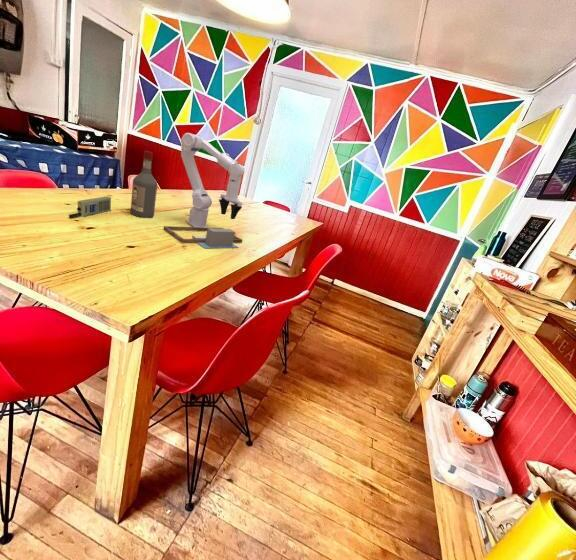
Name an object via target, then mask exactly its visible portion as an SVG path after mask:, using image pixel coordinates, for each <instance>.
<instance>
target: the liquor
mask: <svg viewBox="0 0 576 560" xmlns="http://www.w3.org/2000/svg"><path fill="white" fill-rule="evenodd" d="M153 156H154V152H152V151H149V150H144V151H143V161H142V169H141V172H140V173H138V174H137V175H136V176H134V178H133V180H132V189H131V199H130V200H131V202H130V214H131V215H133V216H135V217H137V218H141V217H142V219H150V218H151V219H152V218H153V217H154V216H155V211H156V210H155V209H156V202H157V201H156V200H157V192H158V183H157V180H156V179H155V178H154V176H153V174H152V160H153ZM147 217H148V218H147Z"/></svg>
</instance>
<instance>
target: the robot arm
mask: <svg viewBox="0 0 576 560" xmlns="http://www.w3.org/2000/svg"><path fill="white" fill-rule="evenodd" d="M180 143H181V148H180V150H181V151H180V157H181V160H182V162H183V165H184V167H185V171H186V174H187V177H188V179H189V183H190V185H191V189H192V194H191V197H192V198H191V199H192V205H193V207H191V208H190V210H189V214H188V216H189V217H188V220H186V223H187V224H188V225H190V226H191V227H203V228H210V227H209V226H207V222H208V221H207V220H208V217H209V216H208V215H209V211H210V210H209V209H210V207H211V206H212V203H213V201H212V198H211V197H210V195H209V194H208V191H207V190H206V189H205V188H204V185H203V182H202V178H201V177H200V176H201V175H200V173H199V170H198V166H197V164H196V160H195V158H194V157H195V155H196V153H197V152H198V151H199V150H200V149H202V150H204V151H206V152H207V153H208V154H209V155H211V157H212V156H213V157H214V158H215V159H216V162H217V163H218V165H219V166H221V167H223V168H224V169H225V170H226V171H227V172H228V173H229V178H228V182H227V183H228V184H227V189H226V194H223V193H222V194H220V199H218V201H219V204H220V214H221V215H226V214H227V211H228V206H229V204H230V203H231V204H230V210H231V211H230V220H236V217H237V215H238V213H239V212H240V211H241V209H242V208H243V202H242V201H240V200H239V199H238V198H239V192H240V189H241V188H240V187H241V183H242V176H244V174H245V167H244V166H243V165H242V164H241V163H238V161H237V160H234V159H233V158H232V157H230V154H229V153H227V152H226V153H225V152H220V151H219V150H218V149H217V148H216V147H214V146H213V145H212V144H211V143H210V142H209V141H207V140H206V139H205V138H203V137H202V136H200V135H199V134H193V133H190V132H185V133H184V134H183V135H182V137H181V139H180Z"/></svg>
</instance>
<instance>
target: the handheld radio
mask: <svg viewBox="0 0 576 560" xmlns="http://www.w3.org/2000/svg"><path fill="white" fill-rule="evenodd" d="M111 200H112V197H110V196H101V197H95V198H88V199H82V200H77V201H76V202H77V208H76V211H77V213H71V214H68V218H70V219H71V218H75V217H80V218H84V217H91V216H94V215H98V214H103V213H106V212H111V209H112V205H111V204H112V203H111V202H112V201H111Z"/></svg>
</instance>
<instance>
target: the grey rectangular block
mask: <svg viewBox="0 0 576 560" xmlns="http://www.w3.org/2000/svg"><path fill="white" fill-rule="evenodd" d="M213 228H214V227H209V228H208V229H207V231H206V235H205V236H206V240H205V244H206V245H208V246H209V247H232V245H233V244H234V243H233V240H234V235H235V236H236V232H235V231H234V230H232V229H231V228H223V229H213Z"/></svg>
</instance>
